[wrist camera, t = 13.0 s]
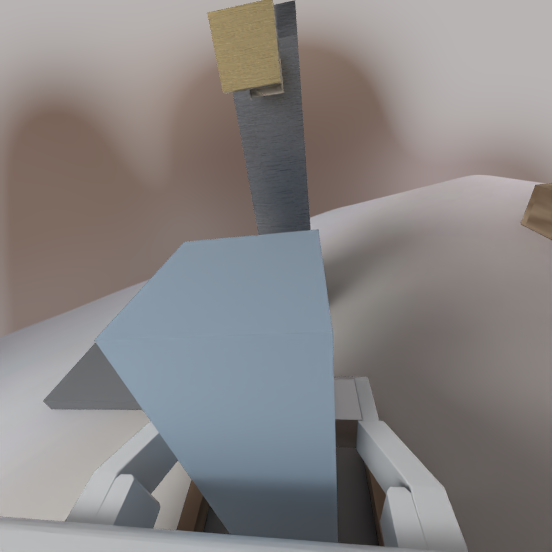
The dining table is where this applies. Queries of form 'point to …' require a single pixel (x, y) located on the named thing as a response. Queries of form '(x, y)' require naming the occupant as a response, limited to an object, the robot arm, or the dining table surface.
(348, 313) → the dining table surface
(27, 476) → the dining table surface
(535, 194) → the display box
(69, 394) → the mat
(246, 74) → the bolt
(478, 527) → the dining table surface
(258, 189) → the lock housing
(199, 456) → the block
